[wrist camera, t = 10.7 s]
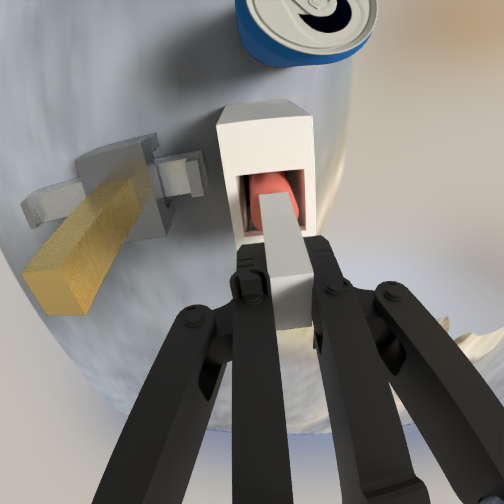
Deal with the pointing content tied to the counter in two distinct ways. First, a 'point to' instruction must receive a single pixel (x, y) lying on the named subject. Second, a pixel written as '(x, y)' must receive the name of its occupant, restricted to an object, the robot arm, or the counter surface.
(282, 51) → the beverage can
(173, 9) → the counter surface
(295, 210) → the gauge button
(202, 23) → the counter surface
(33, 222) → the rail
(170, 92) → the counter surface
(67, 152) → the counter surface
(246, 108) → the end cabinet
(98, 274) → the carriage
